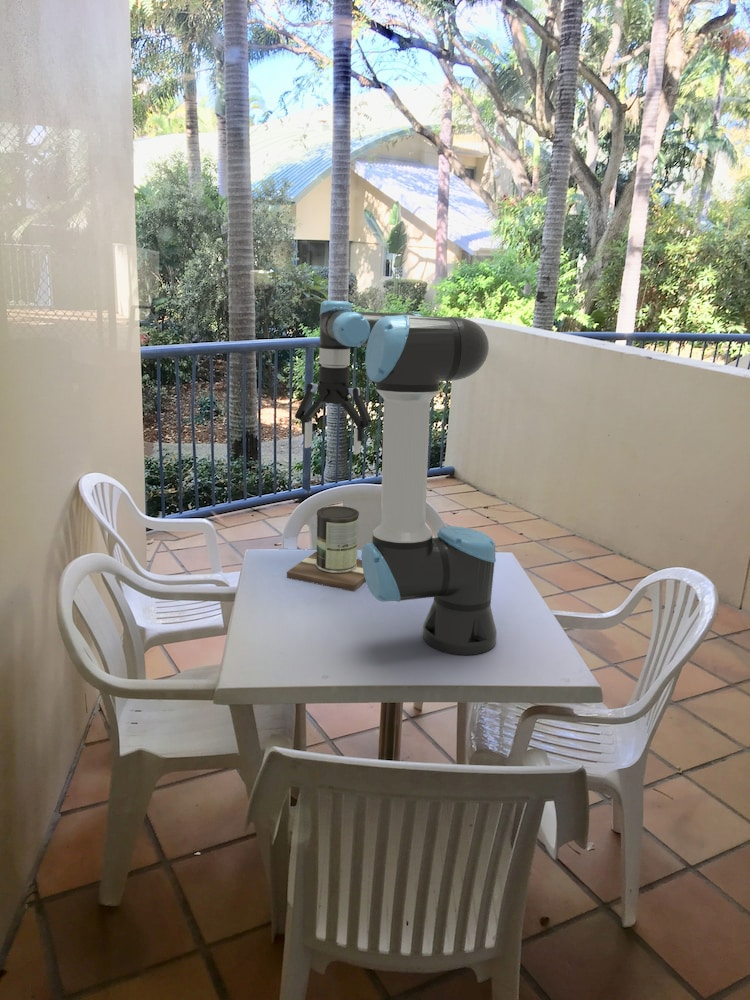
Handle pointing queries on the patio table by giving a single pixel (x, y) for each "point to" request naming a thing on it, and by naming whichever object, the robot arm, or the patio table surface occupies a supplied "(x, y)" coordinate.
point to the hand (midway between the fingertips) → (332, 450)
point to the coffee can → (337, 539)
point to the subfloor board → (327, 575)
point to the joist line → (313, 561)
